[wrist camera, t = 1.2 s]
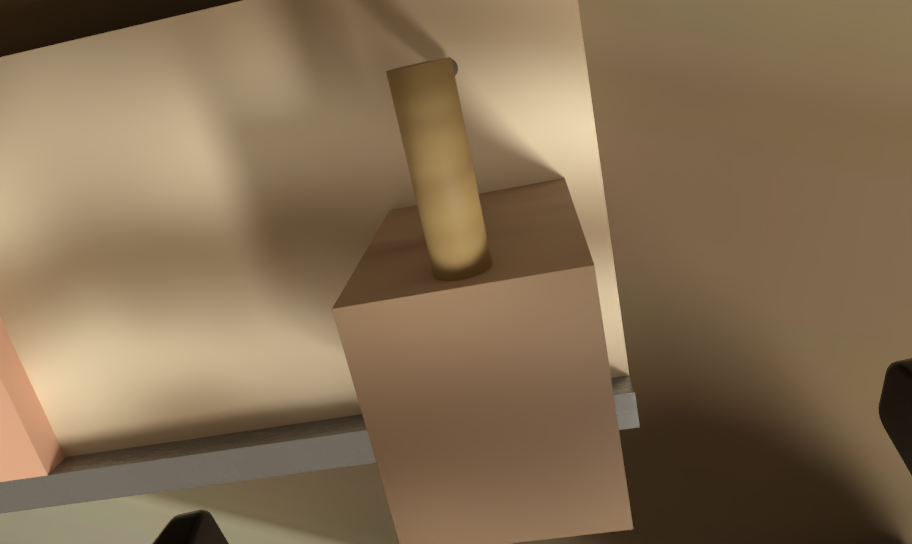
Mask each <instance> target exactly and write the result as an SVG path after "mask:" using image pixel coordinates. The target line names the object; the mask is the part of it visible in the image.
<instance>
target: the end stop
mask: <svg viewBox="0 0 912 544" xmlns="http://www.w3.org/2000/svg"><path fill="white" fill-rule="evenodd" d="M64 458H65V455H64V453H63V450H62V448H61V446H60V444H59V442H58V440H57V438H56V435H55V433H54V431H53V429H52V427H51V425H50V423H49V420H48V418H47V416H46V414H45V412H44V410H43V408H42V405H41V403H40V401H39V399H38V397H37V395H36V393H35V390H34V388H33V386H32V384H31V382H30V380H29V378H28V376H27V373H26V371H25V369H24V367H23V365H22V363H21V361H20V358H19V356H18V354H17V352H16V350H15V348H14V346H13V343H12V341H11V339H10V337H9V335H8V333H7V331H6V328H5V326H4V324H3V322H2V320H1V318H0V482H5V481H12V480H19V479H26V478H33V477H40V476H47V475H48V474H49V473H50V472H51V471H52V470H53V469H54V468H55V467H56V466H57V465H58V464H59V463H60V462H61V461H62V460H63V459H64Z"/></svg>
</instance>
